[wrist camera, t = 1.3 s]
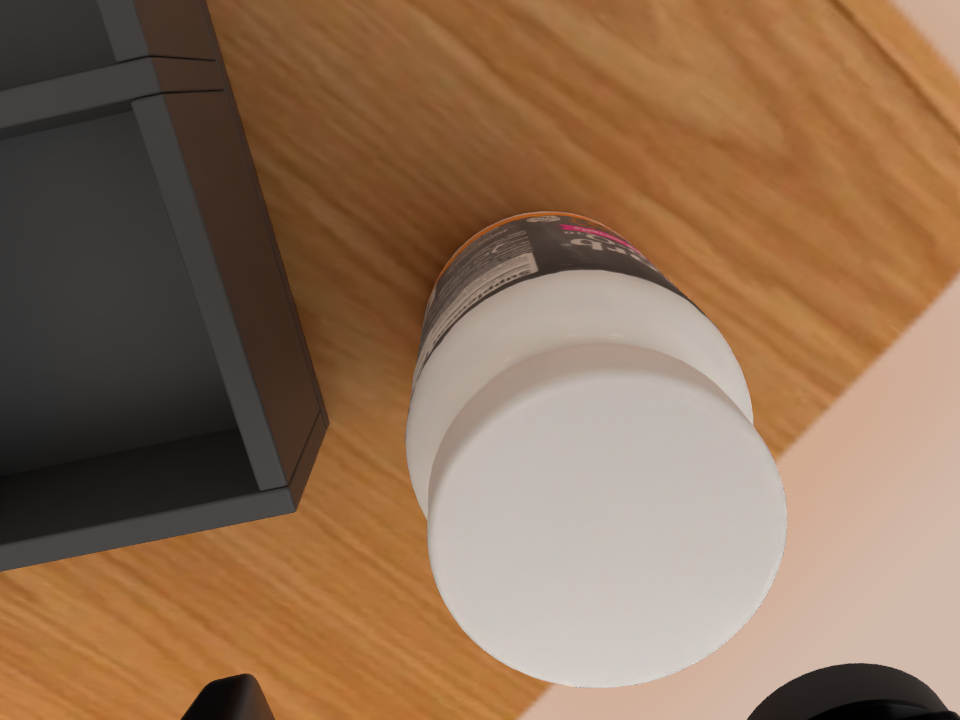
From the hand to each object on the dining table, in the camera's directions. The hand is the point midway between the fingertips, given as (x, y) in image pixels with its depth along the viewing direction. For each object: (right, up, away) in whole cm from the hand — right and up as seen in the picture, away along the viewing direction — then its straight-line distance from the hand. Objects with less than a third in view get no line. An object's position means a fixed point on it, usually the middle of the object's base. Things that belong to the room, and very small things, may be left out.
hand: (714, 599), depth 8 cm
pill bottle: (-1, +3, +12) cm, 13 cm away
